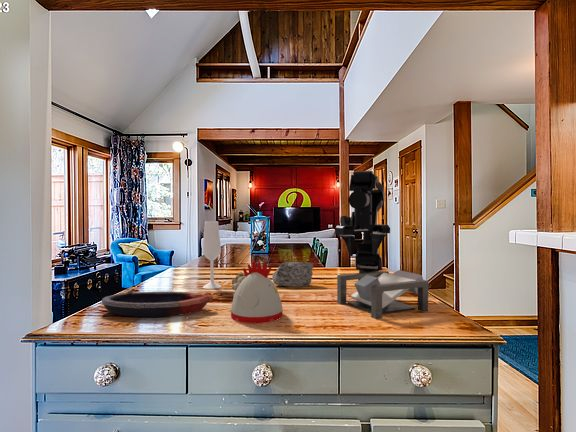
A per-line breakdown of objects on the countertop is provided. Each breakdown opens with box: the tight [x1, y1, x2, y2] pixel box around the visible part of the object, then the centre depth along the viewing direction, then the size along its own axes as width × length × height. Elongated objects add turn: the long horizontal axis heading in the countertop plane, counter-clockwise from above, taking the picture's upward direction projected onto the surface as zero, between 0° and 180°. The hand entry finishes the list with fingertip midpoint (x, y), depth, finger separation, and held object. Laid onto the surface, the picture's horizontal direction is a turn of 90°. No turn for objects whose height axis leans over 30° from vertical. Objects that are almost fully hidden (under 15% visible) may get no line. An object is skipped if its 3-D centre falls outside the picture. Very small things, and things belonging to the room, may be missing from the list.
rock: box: [271, 261, 314, 288], centre depth 146 cm, size 16×8×10 cm, turn 84°
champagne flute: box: [201, 220, 222, 290], centre depth 143 cm, size 7×7×24 cm
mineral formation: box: [231, 272, 246, 298], centre depth 128 cm, size 8×13×15 cm
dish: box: [101, 290, 214, 318], centre depth 110 cm, size 16×31×5 cm, turn 89°
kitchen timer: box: [230, 259, 283, 324], centre depth 106 cm, size 14×14×15 cm
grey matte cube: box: [353, 275, 384, 302], centre depth 113 cm, size 5×5×5 cm
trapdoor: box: [350, 269, 424, 309], centre depth 116 cm, size 18×14×5 cm
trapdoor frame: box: [336, 270, 429, 320], centre depth 115 cm, size 18×19×8 cm
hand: (362, 255), depth 131 cm, fingers open, 9 cm apart
